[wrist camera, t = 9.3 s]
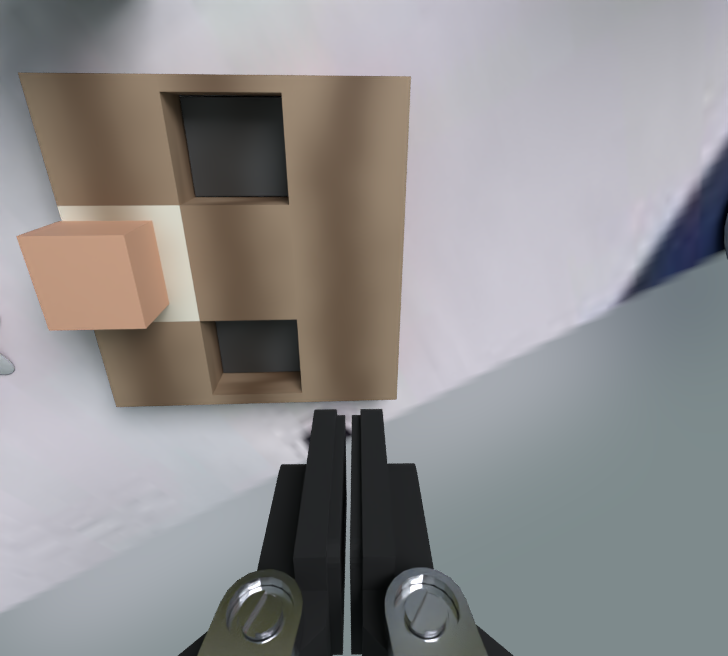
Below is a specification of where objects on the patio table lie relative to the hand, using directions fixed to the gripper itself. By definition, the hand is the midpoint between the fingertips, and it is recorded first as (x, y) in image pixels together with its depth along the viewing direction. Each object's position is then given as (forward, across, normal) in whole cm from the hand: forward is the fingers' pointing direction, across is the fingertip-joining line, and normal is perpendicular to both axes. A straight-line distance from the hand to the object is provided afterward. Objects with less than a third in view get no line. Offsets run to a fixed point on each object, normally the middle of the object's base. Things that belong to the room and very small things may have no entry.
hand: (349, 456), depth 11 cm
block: (+16, +14, 0) cm, 21 cm away
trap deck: (+19, +7, 0) cm, 20 cm away
